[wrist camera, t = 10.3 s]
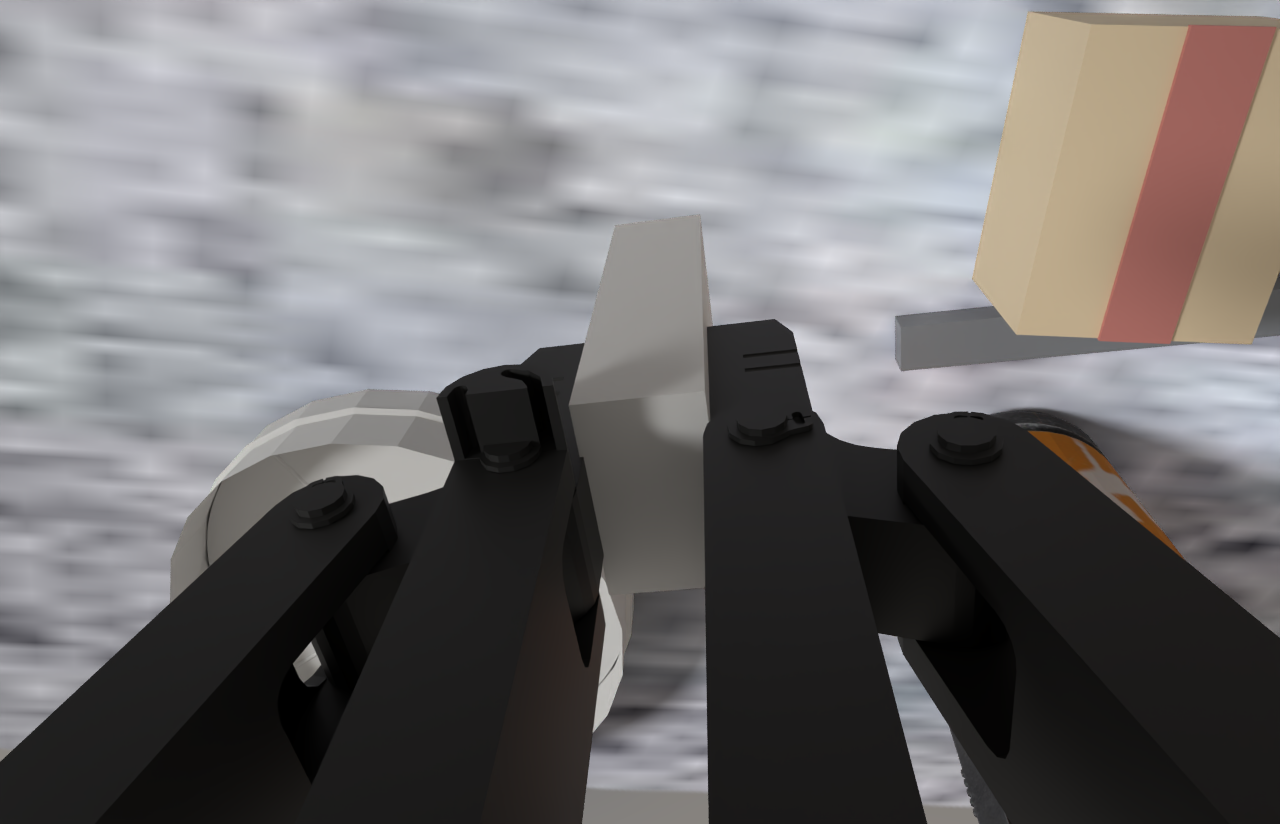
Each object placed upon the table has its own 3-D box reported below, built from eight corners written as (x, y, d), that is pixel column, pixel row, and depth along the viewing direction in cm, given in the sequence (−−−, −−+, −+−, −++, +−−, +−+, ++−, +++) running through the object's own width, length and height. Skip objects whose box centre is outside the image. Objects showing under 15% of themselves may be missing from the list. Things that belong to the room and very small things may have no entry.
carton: (1026, 9, 31) (1093, 23, 25) (1258, 14, 30) (1376, 29, 25) (970, 278, 36) (1017, 337, 30) (1169, 285, 35) (1252, 347, 30)
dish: (720, 618, 45) (721, 690, 41) (422, 771, 53) (396, 846, 48) (432, 295, 38) (396, 341, 33) (131, 526, 45) (70, 589, 41)
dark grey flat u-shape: (893, -272, 27) (901, -281, 26) (1532, -392, 25) (1569, -406, 24) (895, 359, 37) (900, 371, 36) (1349, 315, 35) (1368, 327, 34)
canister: (1144, 468, 39) (1499, 894, 22) (973, 619, 44) (1149, 1069, 26) (994, 367, 37) (1249, 743, 20) (832, 537, 42) (922, 960, 25)
